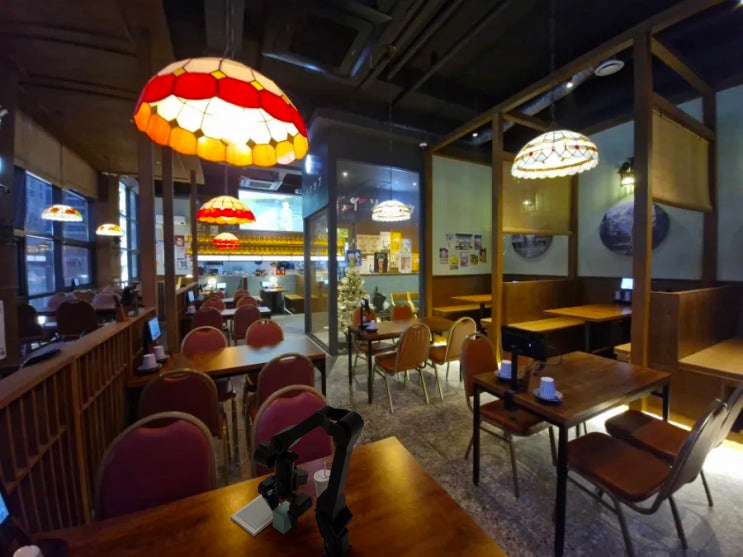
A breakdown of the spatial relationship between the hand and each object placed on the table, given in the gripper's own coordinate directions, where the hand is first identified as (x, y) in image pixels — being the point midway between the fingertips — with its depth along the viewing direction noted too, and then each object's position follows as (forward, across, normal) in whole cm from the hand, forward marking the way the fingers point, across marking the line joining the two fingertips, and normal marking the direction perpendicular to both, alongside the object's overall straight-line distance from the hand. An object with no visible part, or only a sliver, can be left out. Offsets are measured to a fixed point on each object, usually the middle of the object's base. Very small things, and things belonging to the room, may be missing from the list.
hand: (284, 521), depth 96 cm
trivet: (+1, +10, +2) cm, 10 cm away
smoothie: (+1, -4, -13) cm, 14 cm away
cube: (+1, 0, 0) cm, 1 cm away
